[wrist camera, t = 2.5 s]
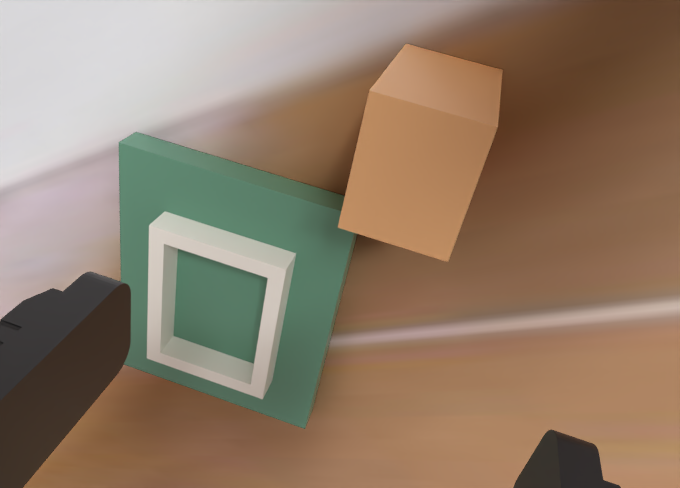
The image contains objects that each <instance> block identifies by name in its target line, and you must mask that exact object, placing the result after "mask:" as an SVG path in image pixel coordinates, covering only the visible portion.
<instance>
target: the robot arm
mask: <svg viewBox="0 0 680 488" xmlns="http://www.w3.org/2000/svg"><path fill="white" fill-rule="evenodd" d="M130 342H131V290H130V287H129V285H128V284H126V283H123V282H120V281H117V280H114V279H111V278H108V277H105V276H102V275H99V274H96V273H94V272H87V273H85V274H83V275H82V276H80V277H79V278H78V279H77V280H76V281H75V282H73V283H72V284H71V285H70V286H69V287H68V288H67V289H65V290H64V291H63V292H62V291H59V290H56V289H53V288H52V289H50V290H48V291H45V292H43V293H41V294H38V295H36V296H34V297H31V298H29V299H26V300H24V301H23V302H21V303H20V304H19V305H18V306H16V307H15V308H14V309H13V310H11V311H10V312H9V313H8V314H7V315H5V316H4V317H3V318H2V319H1V321H0V488H23V487H24V485H25V484H26V483H27V482H28V481H29V479H30V478H31V477H32V476H33V475H34V473H35V472H36V471H37V470H38V469H39V467H40V466H41V465H42V464H43V463H44V461H45V460H46V459H47V458H48V457H49V455H50V454H51V453H52V452H53V451H54V450H55V448H56V447H57V446H58V445H59V444H60V442H61V441H62V440H63V439H64V438H65V436H66V435H67V434H68V433H69V432H70V430H71V429H72V428H73V427H74V426H75V424H76V423H77V422H78V421H79V420H80V418H81V417H82V416H83V415H84V414H85V412H86V411H87V410H88V409H89V408H90V406H91V405H92V404H93V403H94V402H95V400H96V399H97V398H98V397H99V396H100V394H101V393H102V392H103V391H104V390H105V388H106V387H107V386H108V385H109V384H110V382H111V381H112V380H113V379H114V378H115V376H116V375H117V374H118V373H119V371H120V370H121V368H122V366H123V365H124V362H125V360H126V358H127V355H128V352H129V349H130ZM513 488H621V487H620V486H619V485H616V484H613V483H610V482H607V481H604V480H603V476H602V470H601V464H600V457H599V452H598V449H597V447H596V446H595V445H594V444H592V443H589V442H586V441H584V440H581V439H578V438H575V437H572V436H569V435H566V434H563V433H560V432H557V431H554V430H549V431H547V433H546V434H545V435H544V436H543V438H542V440H541V441H540V443H539V445H538V446H537V448H536V449H535V451H534V453H533V454H532V456H531V457H530V459H529V461H528V462H527V464H526V466H525V467H524V469H523V470H522V472H521V474H520V475H519V477H518V479H517V480H516V483H515V485H514V487H513Z"/></svg>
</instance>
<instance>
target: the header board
mask: <svg viewBox="0 0 680 488" xmlns="http://www.w3.org/2000/svg"><path fill="white" fill-rule="evenodd" d="M119 186H120V250H121V282H123V283H126V284H128V285H129V287H130V290H131V342H130V349H129V352H128V355H127V358H126V360H125V362H124V365H127V366H130V367H133V368H136V369H138V370H141V371H144V372H147V373H150V374H152V375H155V376H158V377H161V378H164V379H166V380H169V381H172V382H175V383H178V384H180V385H183V386H186V387H189V388H192V389H194V390H197V391H200V392H203V393H206V394H208V395H211V396H214V397H217V398H220V399H222V400H225V401H228V402H231V403H234V404H236V405H239V406H242V407H245V408H248V409H250V410H253V411H256V412H259V413H262V414H264V415H267V416H270V417H273V418H276V419H278V420H281V421H284V422H287V423H290V424H293V425H295V426H298V427H301V428H304V429H305V428H306V425H307V423H308V420H309V418H310V415H311V413H312V410H313V406H314V402H315V398H316V394H317V390H318V386H319V382H320V379H321V375H322V371H323V367H324V363H325V359H326V355H327V351H328V347H329V343H330V339H331V335H332V331H333V328H334V324H335V320H336V316H337V312H338V308H339V304H340V300H341V296H342V292H343V288H344V284H345V280H346V277H347V273H348V269H349V265H350V261H351V257H352V253H353V249H354V245H355V241H356V237H357V233H354V232H350V231H347V230H344V229H341V228H338V224H339V219H340V215H341V211H342V206H343V202H344V198H345V196H343V195H340V194H337V193H333V192H330V191H327V190H324V189H320V188H317V187H314V186H311V185H307V184H304V183H301V182H298V181H294V180H291V179H288V178H284V177H281V176H278V175H275V174H271V173H268V172H265V171H262V170H258V169H255V168H252V167H249V166H245V165H242V164H239V163H235V162H232V161H229V160H226V159H222V158H219V157H216V156H213V155H209V154H206V153H203V152H200V151H196V150H193V149H190V148H187V147H183V146H180V145H177V144H173V143H170V142H167V141H164V140H160V139H157V138H154V137H151V136H147V135H144V134H141V133H138V132H135V133H134V134H132V135H130V136H129V137H127V138H125V139H124V140H122V141H120V142H119Z"/></svg>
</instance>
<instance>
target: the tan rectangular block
mask: <svg viewBox="0 0 680 488" xmlns="http://www.w3.org/2000/svg"><path fill="white" fill-rule="evenodd" d="M502 72H503V70H501V69H498V68H494V67H490V66H487V65H483V64H479V63H476V62H472V61H468V60H465V59H461V58H457V57H453V56H450V55H446V54H442V53H439V52H435V51H431V50H428V49H424V48H420V47H417V46H413V45H409V44H405V45H404V47H403V48H402V49H401V51H400V52H399V53H398V54H397V56H396V57H395V58H394V59H393V61H392V62H391V63H390V65H389V66H388V67H387V68H386V70H385V71H384V72H383V74H382V75H381V76H380V77H379V79H378V80H377V81H376V83H375V84H374V85H373V86H372V88H371V89H370V90H369V94H368V98H367V102H366V107H365V111H364V115H363V120H362V124H361V128H360V133H359V137H358V141H357V146H356V150H355V154H354V159H353V163H352V167H351V172H350V176H349V180H348V185H347V189H346V193H345V198H344V202H343V206H342V211H341V215H340V219H339V224H338V228H341V229H344V230H347V231H350V232H354V233H357V234H360V235H363V236H366V237H369V238H373V239H376V240H379V241H382V242H385V243H389V244H392V245H395V246H398V247H401V248H405V249H408V250H411V251H414V252H417V253H421V254H424V255H427V256H430V257H433V258H436V259H440V260H443V261H446V262H448V261H449V258H450V255H451V253H452V250H453V247H454V244H455V242H456V239H457V236H458V234H459V231H460V228H461V226H462V223H463V220H464V217H465V215H466V212H467V209H468V207H469V204H470V201H471V198H472V196H473V193H474V190H475V188H476V185H477V182H478V180H479V177H480V174H481V171H482V169H483V166H484V163H485V161H486V158H487V155H488V153H489V150H490V147H491V144H492V142H493V139H494V136H495V134H496V131H497V128H498V120H499V108H500V96H501V84H502Z"/></svg>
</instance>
